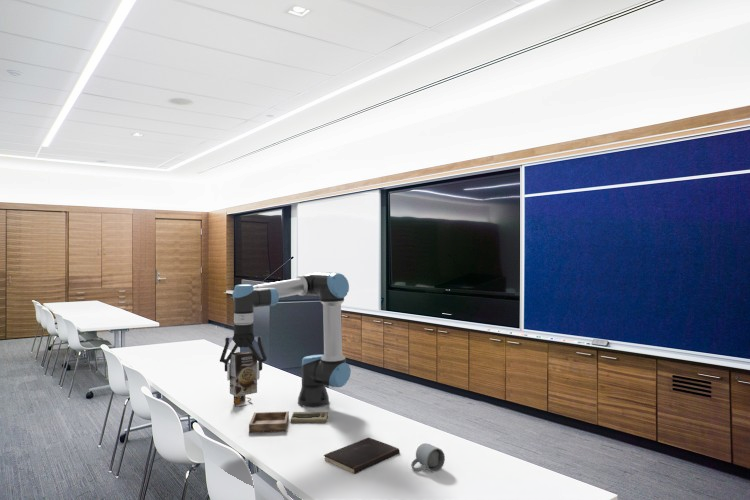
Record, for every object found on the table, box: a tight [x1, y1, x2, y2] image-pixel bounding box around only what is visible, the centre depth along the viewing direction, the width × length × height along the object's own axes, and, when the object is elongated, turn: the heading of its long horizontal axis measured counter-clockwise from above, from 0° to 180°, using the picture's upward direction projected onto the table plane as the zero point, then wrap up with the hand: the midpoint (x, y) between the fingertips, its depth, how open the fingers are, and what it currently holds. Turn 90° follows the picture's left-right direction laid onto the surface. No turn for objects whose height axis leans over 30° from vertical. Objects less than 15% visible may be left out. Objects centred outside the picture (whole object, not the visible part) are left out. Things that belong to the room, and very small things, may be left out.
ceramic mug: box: [410, 442, 446, 473], centre depth 164 cm, size 11×8×8 cm
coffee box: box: [229, 350, 258, 397], centre depth 190 cm, size 9×6×16 cm
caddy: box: [248, 411, 290, 434], centre depth 204 cm, size 15×15×4 cm
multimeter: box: [233, 395, 253, 408], centre depth 236 cm, size 15×10×20 cm
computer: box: [290, 411, 329, 424], centre depth 212 cm, size 16×8×3 cm, turn 90°
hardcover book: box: [323, 437, 401, 475], centre depth 173 cm, size 16×23×2 cm
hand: (243, 379), depth 190 cm, fingers closed on coffee box, 11 cm apart
